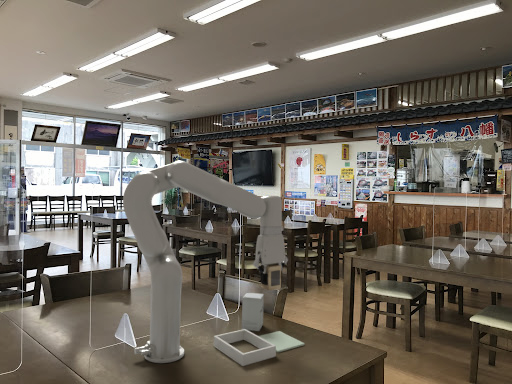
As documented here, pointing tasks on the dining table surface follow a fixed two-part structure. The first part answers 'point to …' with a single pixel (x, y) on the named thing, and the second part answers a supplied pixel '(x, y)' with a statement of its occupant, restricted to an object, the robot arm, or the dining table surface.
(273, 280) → the birch box
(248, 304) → the supplement box
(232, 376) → the dining table surface
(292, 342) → the mat
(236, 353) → the bin
